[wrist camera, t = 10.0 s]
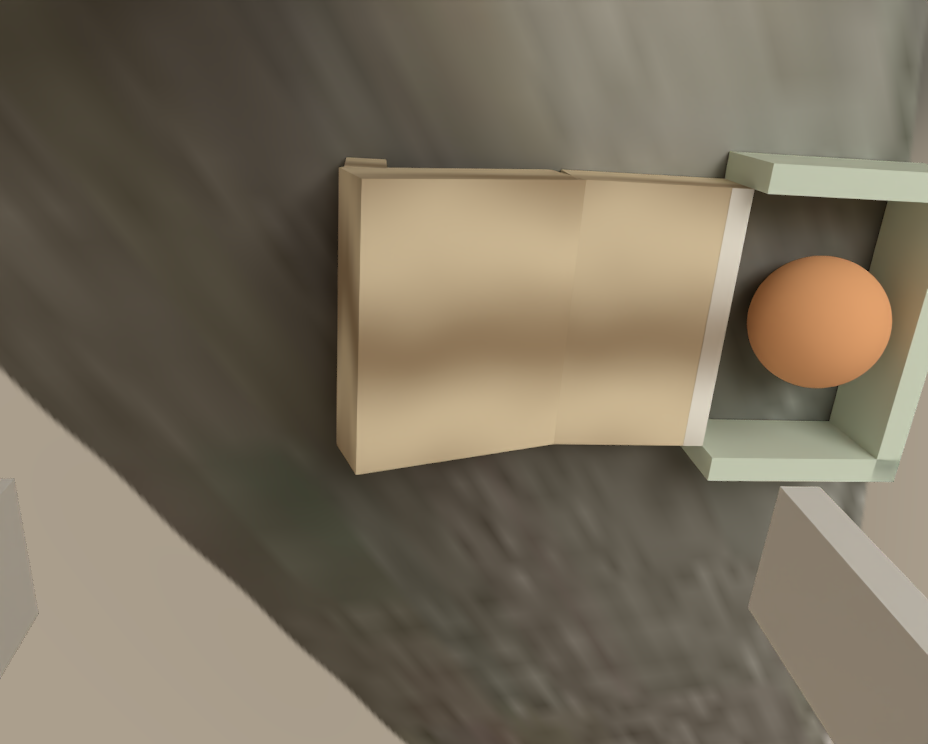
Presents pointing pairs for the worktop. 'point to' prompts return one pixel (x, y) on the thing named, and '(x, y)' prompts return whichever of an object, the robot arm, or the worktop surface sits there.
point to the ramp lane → (528, 309)
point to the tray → (881, 387)
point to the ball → (819, 321)
